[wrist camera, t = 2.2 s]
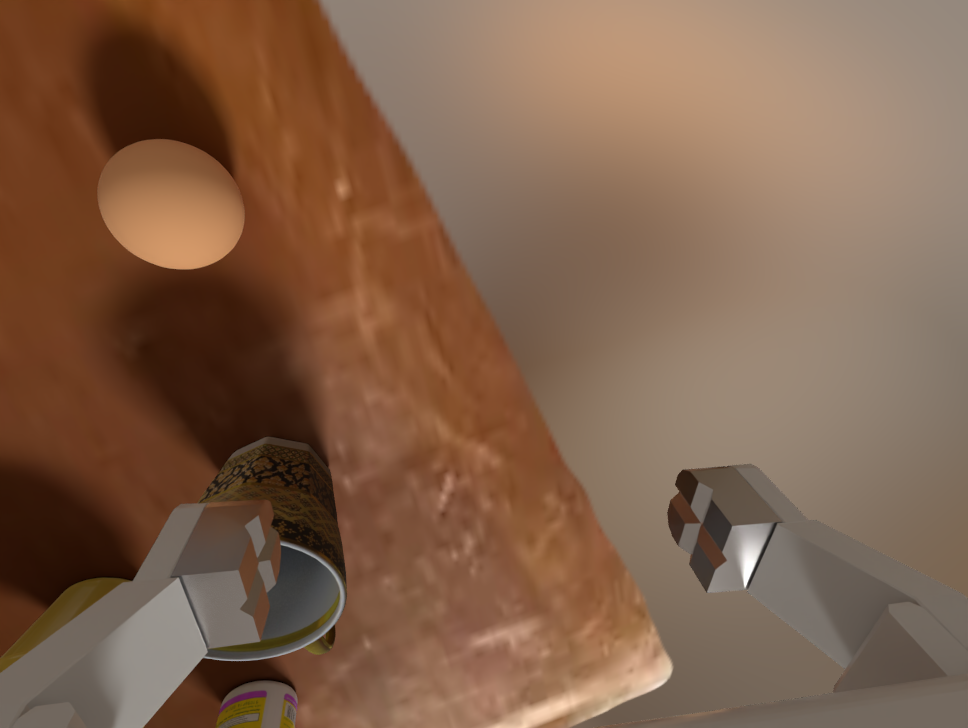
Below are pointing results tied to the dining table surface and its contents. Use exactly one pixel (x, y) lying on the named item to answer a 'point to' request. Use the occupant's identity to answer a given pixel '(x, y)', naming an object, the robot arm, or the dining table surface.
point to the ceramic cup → (290, 545)
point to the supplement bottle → (259, 706)
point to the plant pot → (60, 615)
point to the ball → (171, 204)
